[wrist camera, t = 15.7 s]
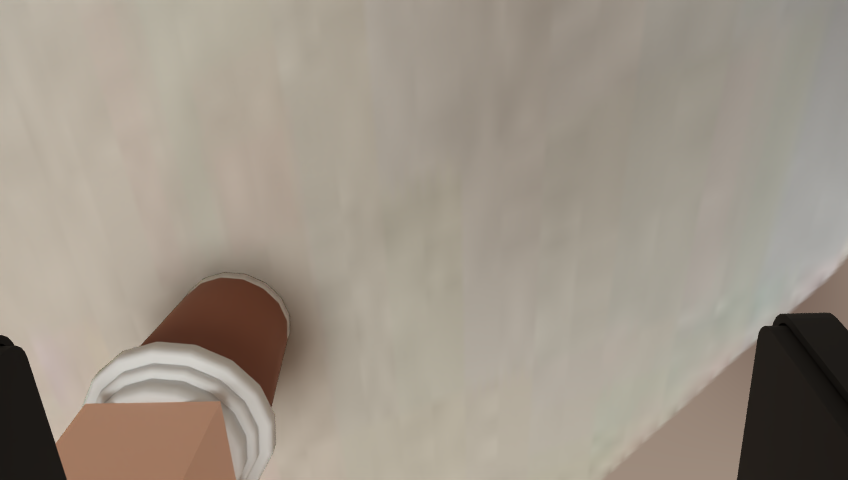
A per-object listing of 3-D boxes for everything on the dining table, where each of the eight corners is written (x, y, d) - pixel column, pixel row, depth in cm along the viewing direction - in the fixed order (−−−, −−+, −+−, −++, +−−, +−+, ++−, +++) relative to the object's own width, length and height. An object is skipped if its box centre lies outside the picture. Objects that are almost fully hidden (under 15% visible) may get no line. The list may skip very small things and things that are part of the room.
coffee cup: (142, 259, 43) (34, 381, 32) (296, 243, 42) (239, 363, 31) (182, 389, 47) (98, 538, 36) (325, 377, 46) (283, 526, 35)
